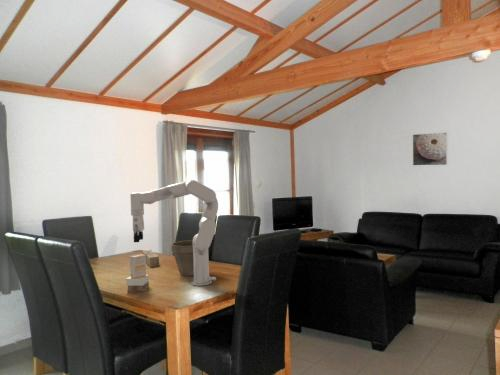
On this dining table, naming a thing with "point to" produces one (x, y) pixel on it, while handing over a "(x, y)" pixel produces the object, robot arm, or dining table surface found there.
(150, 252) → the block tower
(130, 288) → the tower bottom block
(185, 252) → the plant pot
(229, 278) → the dining table surface
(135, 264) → the supplement box
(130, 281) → the tower top block
